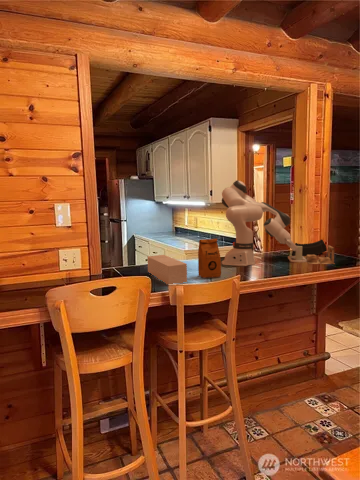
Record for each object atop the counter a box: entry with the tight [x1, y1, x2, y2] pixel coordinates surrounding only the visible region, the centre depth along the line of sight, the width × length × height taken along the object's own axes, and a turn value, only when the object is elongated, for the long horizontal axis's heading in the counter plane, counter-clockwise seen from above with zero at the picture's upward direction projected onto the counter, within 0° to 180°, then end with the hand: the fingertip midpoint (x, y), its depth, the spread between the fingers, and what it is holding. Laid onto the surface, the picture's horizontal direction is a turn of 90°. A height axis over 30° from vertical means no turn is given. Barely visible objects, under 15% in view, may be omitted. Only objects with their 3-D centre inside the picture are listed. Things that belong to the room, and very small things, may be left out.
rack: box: [307, 245, 335, 265], centre depth 212 cm, size 16×11×11 cm
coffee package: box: [197, 238, 222, 279], centre depth 186 cm, size 10×12×22 cm
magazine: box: [291, 239, 328, 257], centre depth 240 cm, size 17×3×30 cm
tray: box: [287, 255, 307, 263], centre depth 221 cm, size 10×14×2 cm
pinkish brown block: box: [147, 254, 188, 285], centre depth 187 cm, size 32×11×11 cm, turn 26°
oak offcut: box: [306, 255, 318, 259], centre depth 213 cm, size 5×4×2 cm
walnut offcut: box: [305, 256, 318, 264], centre depth 213 cm, size 6×5×3 cm
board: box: [294, 246, 303, 260], centre depth 220 cm, size 4×2×9 cm, turn 80°
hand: (298, 252), depth 220 cm, fingers closed on board, 2 cm apart
